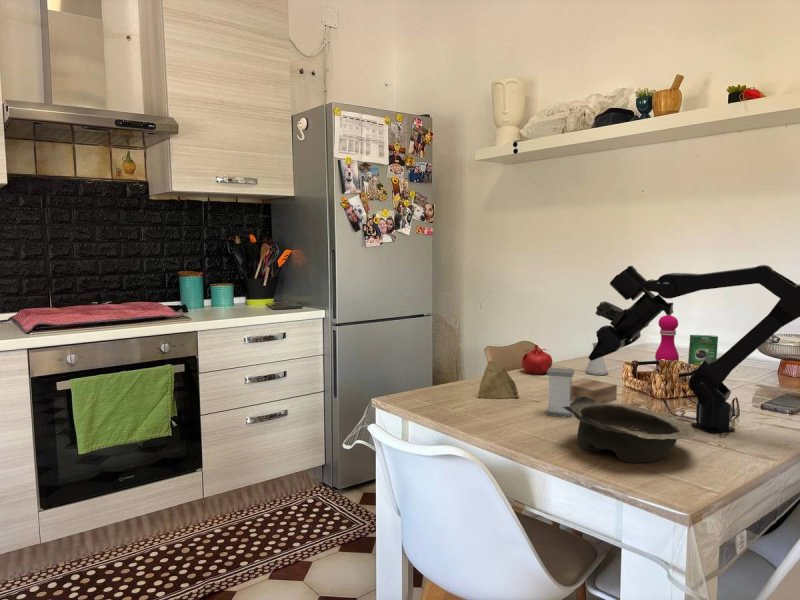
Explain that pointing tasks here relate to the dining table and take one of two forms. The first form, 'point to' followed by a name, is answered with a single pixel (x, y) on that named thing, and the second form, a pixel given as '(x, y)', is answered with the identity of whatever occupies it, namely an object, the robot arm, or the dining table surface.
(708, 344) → the coffee box
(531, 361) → the pomegranate
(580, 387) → the stand
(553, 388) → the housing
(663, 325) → the pepper mill
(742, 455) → the dining table surface
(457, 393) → the dining table surface
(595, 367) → the flask
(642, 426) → the stone bowl
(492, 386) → the rock
